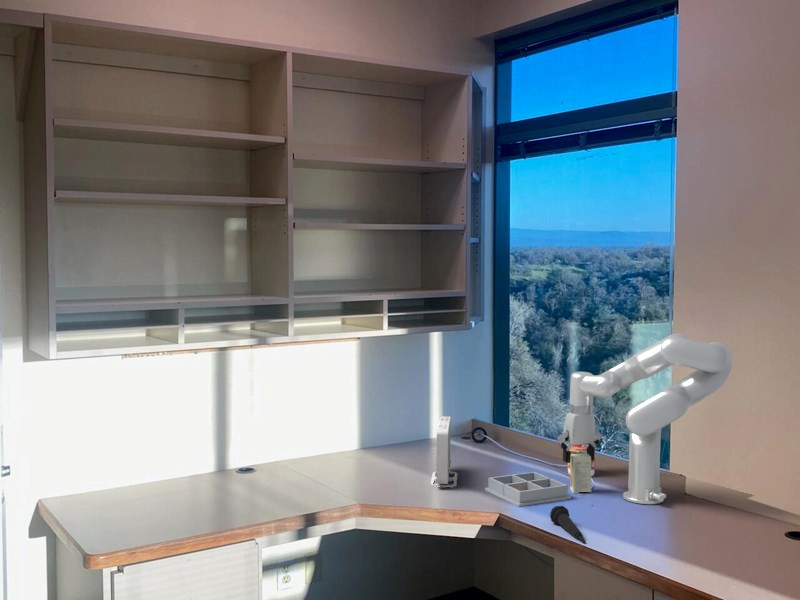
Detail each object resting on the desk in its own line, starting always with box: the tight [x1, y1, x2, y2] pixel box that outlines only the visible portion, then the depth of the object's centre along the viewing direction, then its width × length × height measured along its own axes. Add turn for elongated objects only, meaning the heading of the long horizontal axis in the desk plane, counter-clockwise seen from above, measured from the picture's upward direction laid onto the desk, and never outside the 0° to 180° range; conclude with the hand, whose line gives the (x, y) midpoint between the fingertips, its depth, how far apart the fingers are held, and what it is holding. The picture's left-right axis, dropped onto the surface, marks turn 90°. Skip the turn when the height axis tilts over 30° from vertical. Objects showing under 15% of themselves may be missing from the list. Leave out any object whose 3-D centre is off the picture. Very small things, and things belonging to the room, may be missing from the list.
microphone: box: [549, 505, 586, 544], centre depth 236 cm, size 6×6×20 cm
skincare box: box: [569, 454, 592, 494], centre depth 276 cm, size 6×4×12 cm
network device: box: [430, 415, 458, 488], centre depth 289 cm, size 26×9×20 cm, turn 175°
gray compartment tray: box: [484, 471, 572, 507], centre depth 272 cm, size 20×20×4 cm
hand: (578, 460), depth 276 cm, fingers open, 9 cm apart
